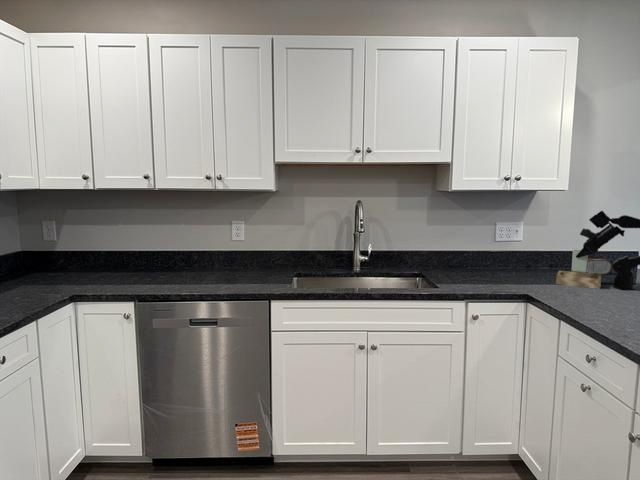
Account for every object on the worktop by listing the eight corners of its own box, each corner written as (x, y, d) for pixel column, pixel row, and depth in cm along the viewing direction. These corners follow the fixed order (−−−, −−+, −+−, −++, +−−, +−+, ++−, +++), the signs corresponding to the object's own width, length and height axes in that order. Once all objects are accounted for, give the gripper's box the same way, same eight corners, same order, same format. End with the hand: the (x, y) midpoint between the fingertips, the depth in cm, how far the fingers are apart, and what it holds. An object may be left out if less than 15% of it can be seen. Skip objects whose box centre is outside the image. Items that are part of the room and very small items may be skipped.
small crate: (586, 270, 204) (588, 250, 203) (585, 272, 199) (587, 252, 198) (572, 269, 207) (573, 249, 206) (571, 271, 203) (572, 251, 201)
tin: (608, 273, 229) (610, 258, 228) (612, 274, 226) (613, 259, 225) (580, 273, 230) (581, 258, 229) (583, 274, 227) (584, 259, 226)
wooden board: (600, 283, 204) (601, 274, 204) (600, 288, 193) (600, 279, 192) (558, 279, 214) (559, 270, 214) (556, 284, 203) (556, 275, 202)
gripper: (593, 221, 206) (566, 242, 213) (591, 224, 191) (562, 246, 198) (611, 238, 202) (583, 258, 210) (610, 242, 187) (580, 263, 195)
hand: (576, 256), depth 203 cm, fingers closed on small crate, 6 cm apart
